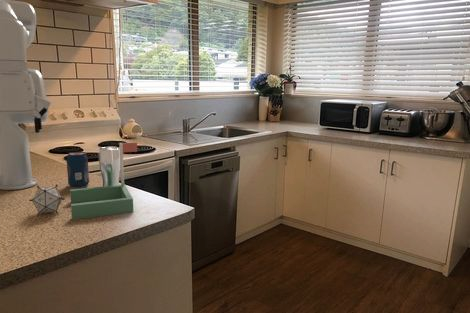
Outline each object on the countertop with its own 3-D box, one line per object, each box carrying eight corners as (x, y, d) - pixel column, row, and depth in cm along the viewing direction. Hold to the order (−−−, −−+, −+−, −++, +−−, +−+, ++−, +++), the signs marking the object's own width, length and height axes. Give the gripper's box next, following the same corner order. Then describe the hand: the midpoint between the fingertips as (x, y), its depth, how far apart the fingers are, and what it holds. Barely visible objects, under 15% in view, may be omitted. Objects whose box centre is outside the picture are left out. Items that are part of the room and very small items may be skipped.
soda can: (68, 184, 133) (66, 151, 131) (89, 182, 136) (87, 150, 134) (68, 189, 127) (65, 155, 125) (89, 187, 130) (87, 154, 127)
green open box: (72, 219, 100) (67, 155, 96) (70, 201, 114) (66, 145, 111) (148, 210, 109) (146, 150, 105) (138, 194, 123) (136, 142, 119)
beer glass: (109, 194, 122) (107, 150, 119) (96, 191, 126) (93, 148, 123) (126, 189, 128) (124, 147, 125) (112, 186, 132) (110, 145, 128)
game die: (51, 227, 104) (46, 207, 97) (26, 214, 105) (19, 194, 98) (72, 204, 110) (68, 184, 103) (48, 192, 111) (43, 172, 104)
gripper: (-33, 66, 90) (-24, 135, 93) (46, 68, 96) (51, 133, 99) (-23, 68, 97) (-16, 132, 100) (49, 69, 102) (54, 130, 106)
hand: (17, 132), depth 99 cm, fingers open, 9 cm apart
